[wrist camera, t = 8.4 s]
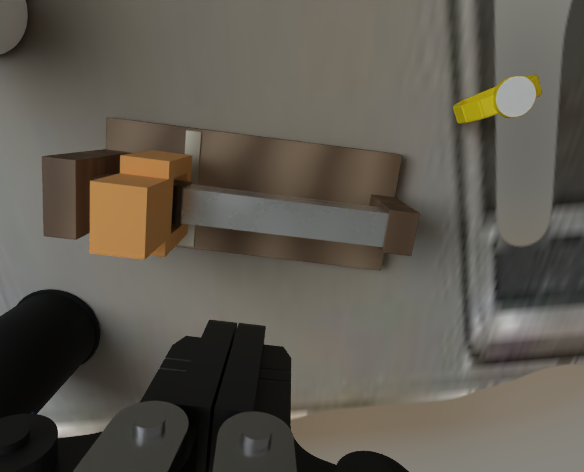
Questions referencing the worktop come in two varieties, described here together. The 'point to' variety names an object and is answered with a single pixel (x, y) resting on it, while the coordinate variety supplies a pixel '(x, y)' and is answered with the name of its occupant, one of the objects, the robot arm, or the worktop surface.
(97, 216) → the collar
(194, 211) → the grey square bar
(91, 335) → the aerosol can
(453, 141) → the worktop surface
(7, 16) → the water bottle
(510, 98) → the watch
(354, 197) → the rig
